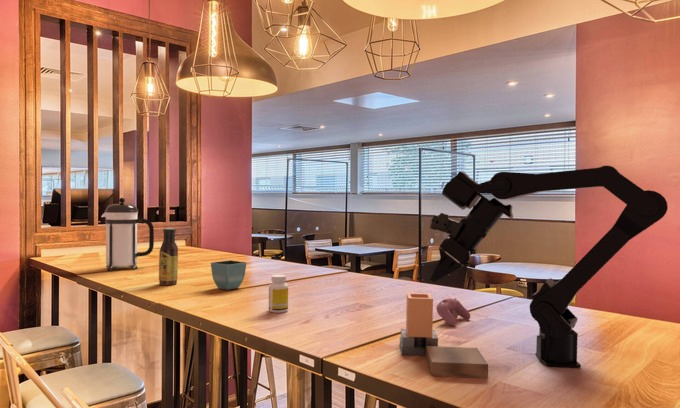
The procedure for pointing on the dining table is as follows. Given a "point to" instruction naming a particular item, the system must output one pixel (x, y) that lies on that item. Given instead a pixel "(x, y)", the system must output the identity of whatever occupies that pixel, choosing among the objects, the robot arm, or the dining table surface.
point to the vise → (416, 343)
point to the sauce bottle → (168, 258)
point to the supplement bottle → (278, 294)
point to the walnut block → (456, 362)
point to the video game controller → (451, 311)
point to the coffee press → (124, 235)
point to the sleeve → (419, 315)
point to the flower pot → (228, 274)
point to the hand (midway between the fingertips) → (434, 277)
